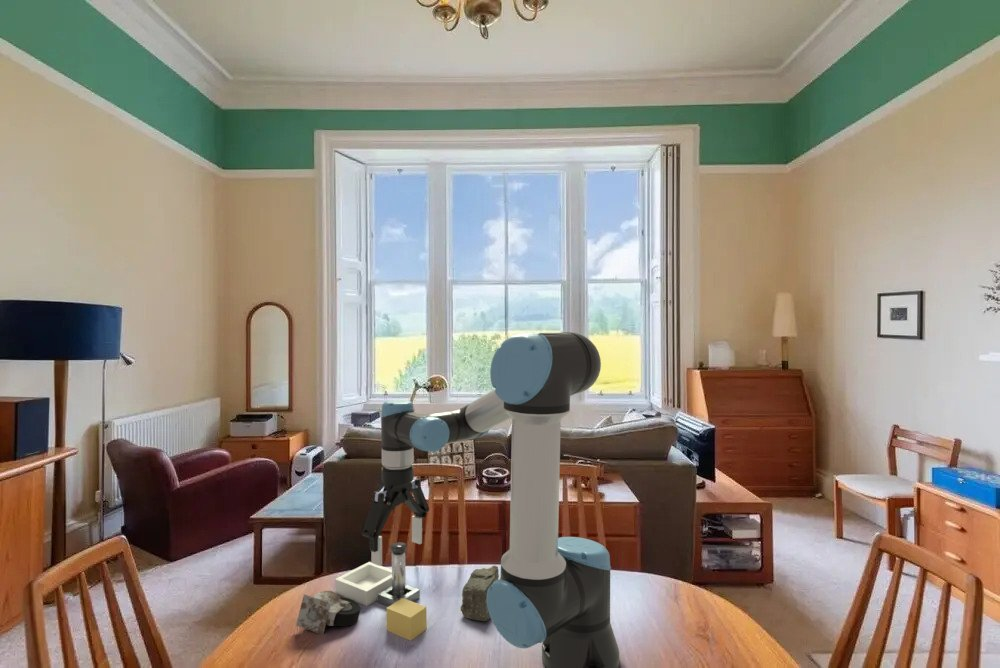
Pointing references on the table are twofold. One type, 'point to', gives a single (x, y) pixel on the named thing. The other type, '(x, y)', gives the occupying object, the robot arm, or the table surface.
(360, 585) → the tray
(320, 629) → the caster wheel
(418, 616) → the block
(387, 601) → the pin socket
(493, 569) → the rock
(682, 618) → the table surface
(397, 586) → the pin
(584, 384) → the robot arm
